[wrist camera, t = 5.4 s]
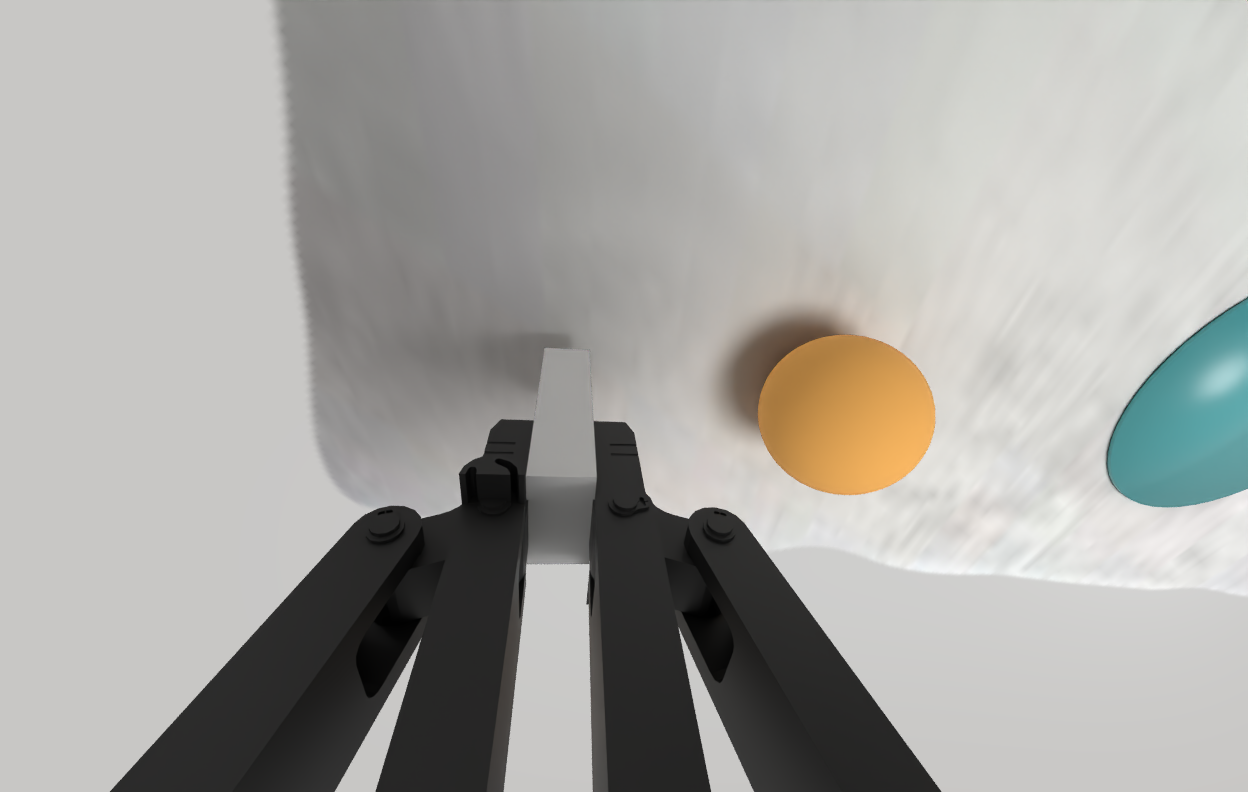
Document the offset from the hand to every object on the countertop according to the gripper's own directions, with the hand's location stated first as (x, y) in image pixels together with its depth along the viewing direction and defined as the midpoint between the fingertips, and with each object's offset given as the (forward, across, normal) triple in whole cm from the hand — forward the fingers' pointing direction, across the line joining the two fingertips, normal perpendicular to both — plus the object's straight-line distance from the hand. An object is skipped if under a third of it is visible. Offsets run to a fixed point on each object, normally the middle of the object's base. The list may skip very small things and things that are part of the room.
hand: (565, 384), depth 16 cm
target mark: (+1, +32, 0) cm, 32 cm away
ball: (-1, +10, 0) cm, 10 cm away
